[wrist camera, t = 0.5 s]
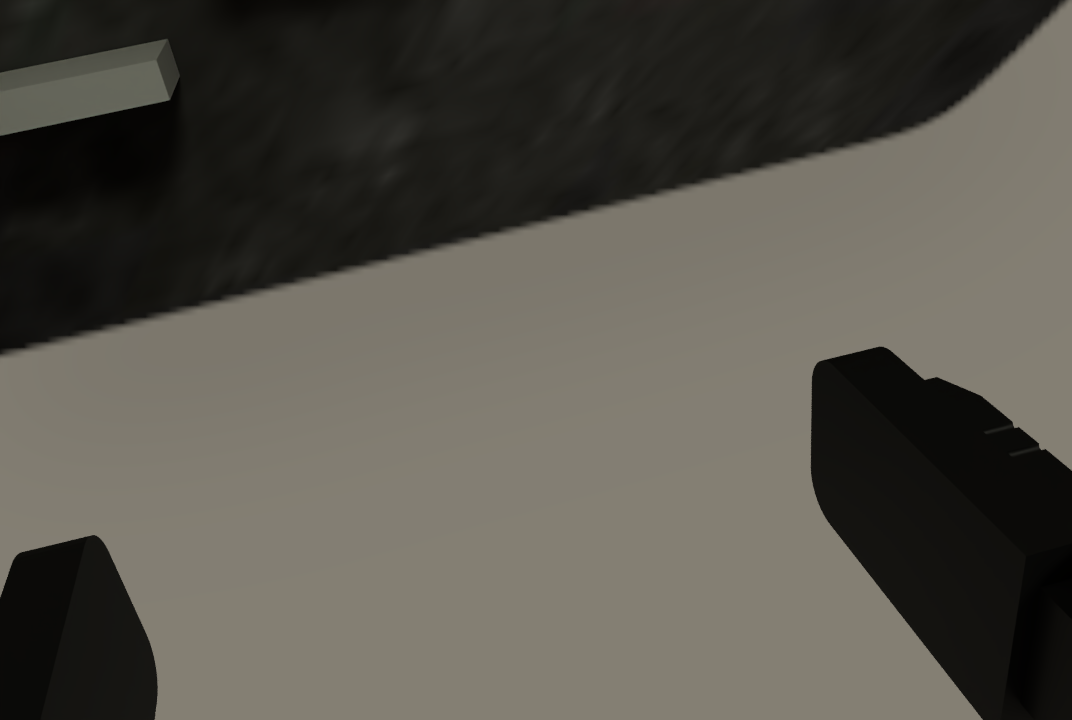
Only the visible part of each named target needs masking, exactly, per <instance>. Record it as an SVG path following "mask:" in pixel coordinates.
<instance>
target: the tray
mask: <svg viewBox="0 0 1072 720" xmlns="http://www.w3.org/2000/svg"><path fill="white" fill-rule="evenodd" d="M179 77H180V75H179V71H178V68H177V65H176V62H175V59H174V56H173V53H172V50H171V47H170V44H169V41H168V39H165V40H160V41H155V42H150V43H145V44H140V45H135V46H130V47H125V48H120V49H115V50H110V51H105V52H100V53H95V54H90V55H86V56H81V57H76V58H71V59H66V60H61V61H56V62H51V63H46V64H41V65H36V66H31V67H26V68H21V69H16V70H11V71H6V72H1V73H0V136H1V135H6V134H11V133H15V132H20V131H25V130H30V129H35V128H39V127H44V126H49V125H54V124H58V123H63V122H68V121H73V120H78V119H82V118H87V117H92V116H97V115H101V114H106V113H111V112H116V111H121V110H125V109H130V108H135V107H140V106H144V105H149V104H154V103H159V102H164V101H168V100H170V99H171V96H172V94H173V91H174V89H175V87H176V84H177V82H178V79H179Z"/></svg>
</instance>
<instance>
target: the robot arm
mask: <svg viewBox="0 0 1072 720" xmlns="http://www.w3.org/2000/svg"><path fill="white" fill-rule="evenodd" d="M811 421H812V422H811V475H812V482H813V487H814V491H815V494H816V497H817V501H818V503H819V505H820V508H821V510H822V512H823V514H824V516H825V517H826V519H827V520H828V522H829V523H830V525H831V526H832V527H833V529H834V530H835V531H836V532H837V534H838V535H839V536H840V538H841V539H842V540H843V541H844V543H845V544H846V545H847V547H849V549H850V550H851V552H852V553H853V554H854V555H855V557H856V558H857V559H858V561H859V562H860V563H861V564H862V566H863V567H864V568H865V570H866V571H867V572H868V573H869V575H870V576H871V577H872V578H873V580H874V581H875V582H876V584H877V585H878V586H879V587H880V589H881V590H882V591H883V593H884V594H885V595H886V596H887V598H888V599H889V600H890V602H891V603H892V604H893V605H894V607H895V608H896V609H897V610H898V612H899V613H900V614H901V615H902V617H903V618H904V619H905V621H906V622H907V623H908V624H909V626H910V627H911V628H912V630H913V631H914V632H915V633H916V635H917V636H918V637H919V639H920V640H921V641H922V642H923V644H924V645H925V646H926V648H927V649H928V650H929V651H930V653H931V654H932V655H933V656H934V658H935V659H936V660H937V662H938V663H939V664H940V665H941V667H942V668H943V669H944V670H945V672H946V673H947V674H948V676H949V677H950V678H951V679H952V681H953V682H954V683H955V685H956V686H957V687H958V688H959V690H960V691H961V692H962V694H963V695H964V696H965V697H966V699H967V700H968V701H969V703H970V704H971V705H972V706H973V707H974V709H975V710H976V711H977V713H978V714H979V715H980V716H981V718H982V719H983V720H1072V471H1071V470H1070V469H1069V468H1068V467H1067V466H1065V465H1064V464H1063V463H1062V462H1060V461H1059V460H1058V459H1057V458H1056V457H1054V456H1053V455H1052V454H1051V453H1050V452H1048V451H1047V450H1046V449H1045V450H1041V449H1040V448H1039V443H1037V442H1036V441H1035V440H1034V439H1033V438H1031V437H1030V436H1029V435H1028V434H1027V433H1025V432H1024V431H1023V430H1021V429H1020V428H1019V427H1018V428H1014V426H1013V422H1012V421H1011V420H1010V419H1008V418H1007V417H1006V416H1005V415H1004V414H1002V413H1001V412H1000V411H999V410H997V409H996V408H995V407H994V406H993V405H991V404H990V403H989V402H988V401H987V400H985V399H984V398H983V397H982V396H980V395H978V394H976V393H973V392H971V391H968V390H966V389H964V388H961V387H959V386H957V385H954V384H952V383H949V382H947V381H945V380H942V379H940V378H938V377H935V378H931V379H927V380H924V379H923V378H921V377H920V376H919V375H918V374H917V373H916V372H914V371H913V370H912V369H911V368H910V367H909V366H908V365H906V364H905V363H904V362H903V361H902V360H901V359H900V358H898V357H897V356H896V355H895V354H894V353H893V352H891V351H890V350H889V349H887V348H884V347H876V348H872V349H868V350H864V351H860V352H856V353H852V354H848V355H843V356H839V357H835V358H831V359H827V360H823V361H820V362H818V363H817V364H816V366H815V368H814V371H813V376H812V419H811ZM157 688H158V686H157V674H156V667H155V661H154V656H153V652H152V648H151V645H150V642H149V640H148V637H147V635H146V633H145V630H144V628H143V626H142V624H141V622H140V619H139V617H138V615H137V613H136V611H135V608H134V606H133V604H132V602H131V600H130V597H129V595H128V593H127V591H126V589H125V586H124V584H123V582H122V580H121V578H120V575H119V573H118V571H117V569H116V567H115V564H114V562H113V560H112V558H111V556H110V554H109V551H108V549H107V548H106V546H105V544H104V543H103V542H102V540H101V539H100V538H99V537H97V536H95V535H92V536H88V537H84V538H79V539H76V540H71V541H67V542H63V543H59V544H55V545H51V546H46V547H42V548H38V549H34V550H30V551H25V552H22V553H19V554H18V555H17V556H16V557H15V559H14V560H13V563H12V565H11V568H10V571H9V574H8V577H7V580H6V583H5V586H4V589H3V591H2V594H1V597H0V720H154V719H155V712H156V704H157Z"/></svg>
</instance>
